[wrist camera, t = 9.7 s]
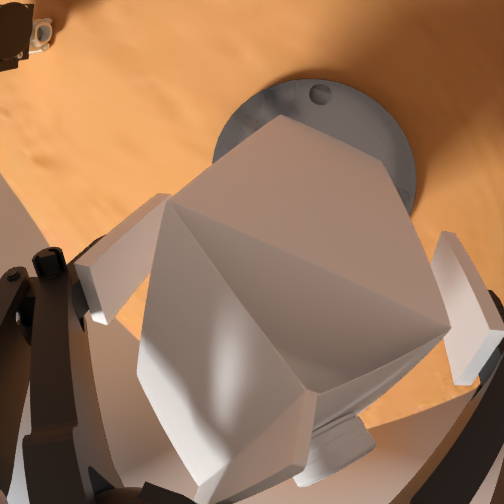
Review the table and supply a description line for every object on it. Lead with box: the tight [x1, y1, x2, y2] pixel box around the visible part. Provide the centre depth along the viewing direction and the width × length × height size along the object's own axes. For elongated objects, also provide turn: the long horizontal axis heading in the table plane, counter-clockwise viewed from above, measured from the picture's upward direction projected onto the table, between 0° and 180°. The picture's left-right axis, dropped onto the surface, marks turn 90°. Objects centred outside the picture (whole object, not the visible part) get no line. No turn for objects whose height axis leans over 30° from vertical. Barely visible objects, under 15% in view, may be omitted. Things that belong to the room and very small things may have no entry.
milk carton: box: [137, 114, 452, 504], centre depth 13 cm, size 7×7×19 cm
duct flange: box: [212, 79, 416, 216], centre depth 21 cm, size 14×14×1 cm
